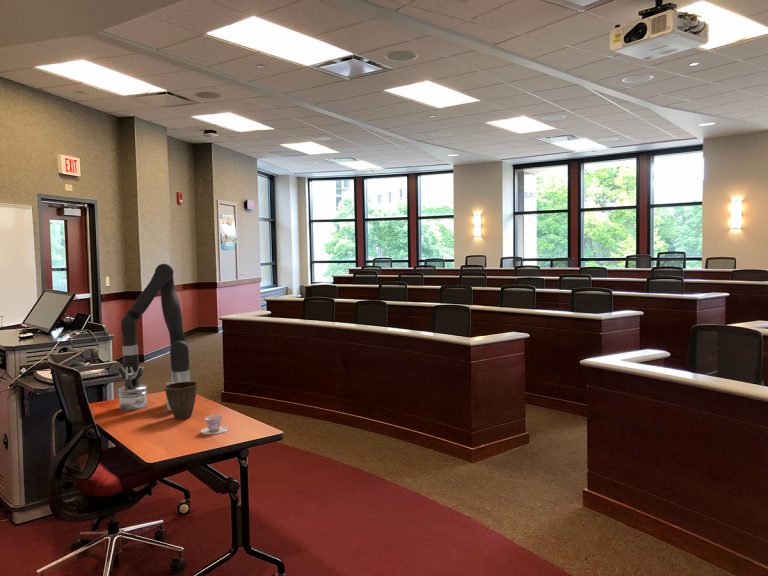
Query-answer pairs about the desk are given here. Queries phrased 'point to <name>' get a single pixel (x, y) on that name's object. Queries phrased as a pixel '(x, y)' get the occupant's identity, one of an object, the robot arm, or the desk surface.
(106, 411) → the desk surface
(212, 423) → the teacup
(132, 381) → the cooker lid
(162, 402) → the desk surface
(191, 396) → the plant pot
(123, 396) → the cooker pot
